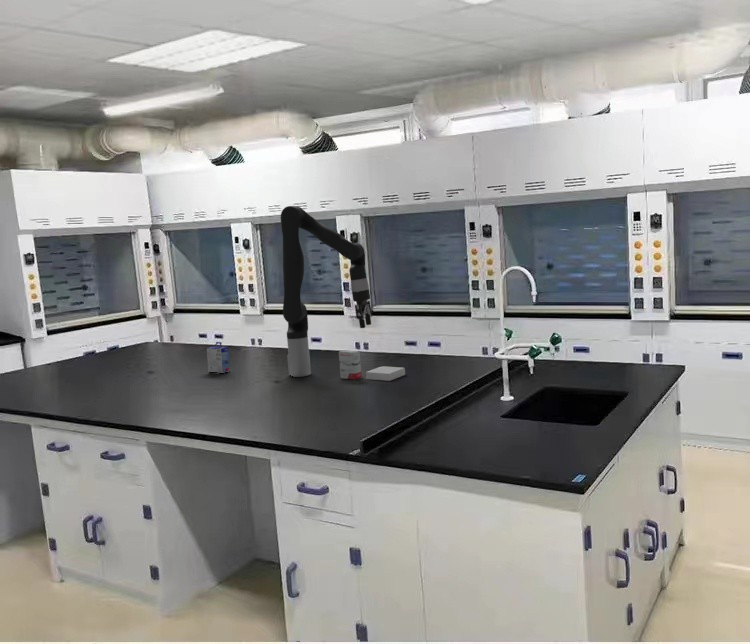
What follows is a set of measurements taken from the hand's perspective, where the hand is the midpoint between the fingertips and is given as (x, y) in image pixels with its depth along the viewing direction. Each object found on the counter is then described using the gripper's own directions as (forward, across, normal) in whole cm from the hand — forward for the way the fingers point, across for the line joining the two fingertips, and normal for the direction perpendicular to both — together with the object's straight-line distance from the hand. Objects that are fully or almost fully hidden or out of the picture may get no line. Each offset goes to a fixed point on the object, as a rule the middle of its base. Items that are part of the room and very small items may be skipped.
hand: (365, 326), depth 319 cm
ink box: (+21, +7, -8) cm, 23 cm away
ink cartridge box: (+15, -6, -79) cm, 80 cm away
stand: (+22, +6, +8) cm, 24 cm away
